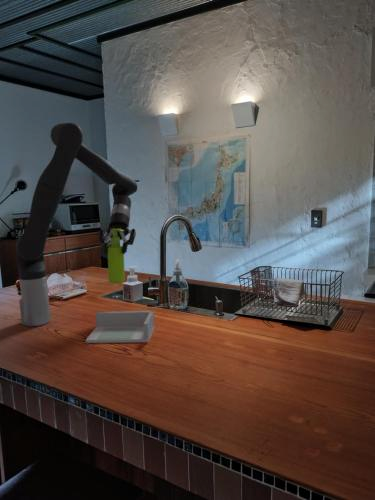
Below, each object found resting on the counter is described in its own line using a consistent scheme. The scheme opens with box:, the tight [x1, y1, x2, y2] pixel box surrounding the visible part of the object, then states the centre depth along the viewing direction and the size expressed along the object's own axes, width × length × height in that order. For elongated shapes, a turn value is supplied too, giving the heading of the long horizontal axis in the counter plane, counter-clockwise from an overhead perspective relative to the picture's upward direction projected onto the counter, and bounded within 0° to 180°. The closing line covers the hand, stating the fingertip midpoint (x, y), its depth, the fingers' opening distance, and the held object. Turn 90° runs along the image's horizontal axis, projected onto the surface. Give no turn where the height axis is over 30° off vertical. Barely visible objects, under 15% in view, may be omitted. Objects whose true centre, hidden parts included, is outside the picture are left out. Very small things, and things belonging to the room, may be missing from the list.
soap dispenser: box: [107, 229, 126, 284], centre depth 144 cm, size 6×7×20 cm
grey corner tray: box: [85, 310, 155, 344], centre depth 128 cm, size 20×13×6 cm, turn 87°
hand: (114, 252), depth 142 cm, fingers closed on soap dispenser, 6 cm apart
